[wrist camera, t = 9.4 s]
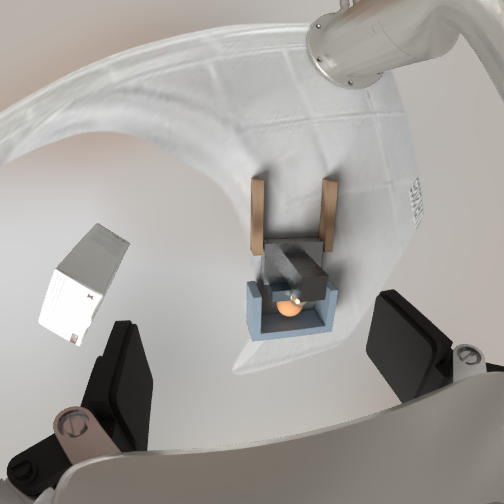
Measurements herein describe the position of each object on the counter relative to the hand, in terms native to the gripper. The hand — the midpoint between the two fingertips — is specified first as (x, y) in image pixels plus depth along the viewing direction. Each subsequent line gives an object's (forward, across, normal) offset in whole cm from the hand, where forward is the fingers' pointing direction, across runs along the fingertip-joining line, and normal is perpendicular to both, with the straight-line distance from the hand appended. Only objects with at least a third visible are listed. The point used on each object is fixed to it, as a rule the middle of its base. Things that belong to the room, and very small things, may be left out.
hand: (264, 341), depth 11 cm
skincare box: (+31, +17, +7) cm, 36 cm away
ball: (+29, -10, +16) cm, 35 cm away
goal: (+31, -10, +16) cm, 36 cm away
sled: (+30, -10, +11) cm, 34 cm away
